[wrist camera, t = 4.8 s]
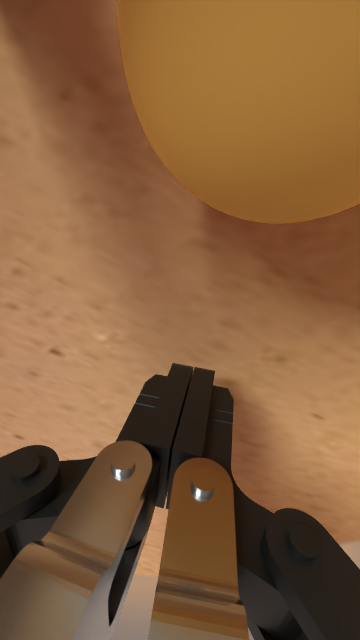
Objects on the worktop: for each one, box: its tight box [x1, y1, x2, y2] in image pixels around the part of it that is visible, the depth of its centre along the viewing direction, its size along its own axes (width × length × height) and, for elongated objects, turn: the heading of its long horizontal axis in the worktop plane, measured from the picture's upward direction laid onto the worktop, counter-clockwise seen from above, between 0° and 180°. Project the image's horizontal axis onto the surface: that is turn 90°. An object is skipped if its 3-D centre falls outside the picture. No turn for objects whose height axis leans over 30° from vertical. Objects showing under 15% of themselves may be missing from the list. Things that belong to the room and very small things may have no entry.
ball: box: [117, 0, 360, 224], centre depth 5 cm, size 6×6×6 cm
